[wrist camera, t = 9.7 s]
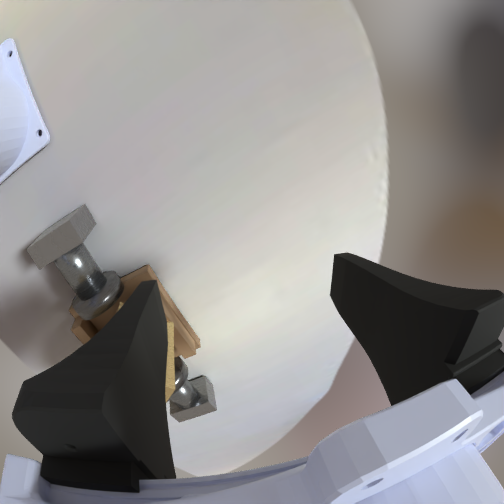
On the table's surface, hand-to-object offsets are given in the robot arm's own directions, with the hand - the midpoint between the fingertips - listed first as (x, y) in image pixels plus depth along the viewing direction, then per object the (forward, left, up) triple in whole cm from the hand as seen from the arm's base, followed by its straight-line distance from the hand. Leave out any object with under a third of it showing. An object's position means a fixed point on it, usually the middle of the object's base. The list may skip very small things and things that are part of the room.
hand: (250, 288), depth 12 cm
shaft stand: (+5, -10, -9) cm, 15 cm away
